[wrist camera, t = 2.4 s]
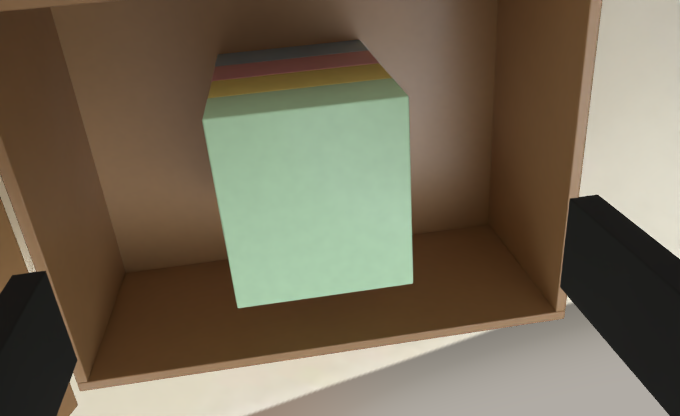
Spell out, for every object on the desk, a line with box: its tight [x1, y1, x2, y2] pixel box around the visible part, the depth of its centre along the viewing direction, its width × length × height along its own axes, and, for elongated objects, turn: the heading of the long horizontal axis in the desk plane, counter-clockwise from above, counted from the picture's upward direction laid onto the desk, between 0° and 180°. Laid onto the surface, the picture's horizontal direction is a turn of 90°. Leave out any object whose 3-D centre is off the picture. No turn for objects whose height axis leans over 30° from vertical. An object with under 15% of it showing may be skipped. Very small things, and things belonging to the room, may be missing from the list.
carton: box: [0, 0, 602, 391], centre depth 23 cm, size 19×14×8 cm
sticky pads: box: [202, 40, 413, 308], centre depth 22 cm, size 6×7×9 cm
